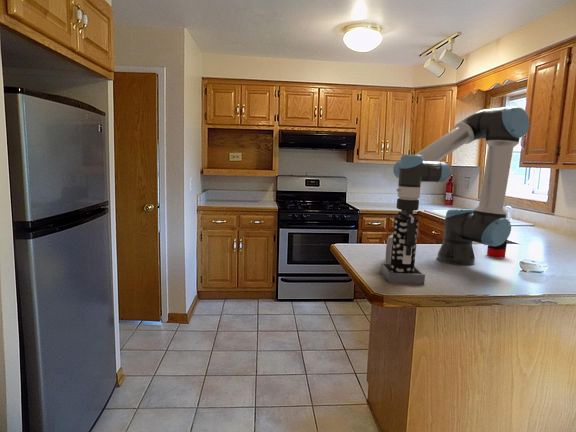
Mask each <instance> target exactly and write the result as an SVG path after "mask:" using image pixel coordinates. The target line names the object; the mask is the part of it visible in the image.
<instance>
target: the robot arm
mask: <svg viewBox="0 0 576 432" xmlns="http://www.w3.org/2000/svg"><path fill="white" fill-rule="evenodd" d="M454 125H455V126H454V127H453V129H451V130H450V131H449V132H447V133H445V134H444V135H442V136H441V137H439V138H438V139H436V140H435V141H433V142H432V143H430V144H428V145H427V146H426V147H424V148H422V149H421V150H419V151H418V152H417V153H415V154H403V155H401V156H400V160H398V161H396V162H395V164H394V165H393V175H394V176H395V177H396V178H397V179H398V184H397V189H396V192H397V197H398V198H397V199H396V209H398V210H400V211H398V212H397V216H399V217H402V219H408V220H407V221H408V222H407V231H405V244H403V246H404V250H403V262H402V263H403V264H411V255H412V246H415V223H416V218H417V216H414V211H415V212H416V211H418V210H419V205H420V200H419V199H420V197H421V186H422V185H421V184H422V183H436V184H437V183H444V182H446V181H447V180H448V178H449V176H450V171H451V168H450V166H449V164H448V163H447V162H445V161H441V160H442V159H445V157H447V156H448V155H450V154H451V153H453V152H454V151H456V150H457V149H459V148H460V147H462V146H463V145H468V144H470V143H472V142H474V141H476V140H483V139H484V142H485V144H487V145H486V146H488V147H487V154H486V160H485V166H484V167H485V168H484V173H483V179H482V186H481V191H480V198H479V203H478V204H479V205H478V206H477V207H475V208H473V209H472V208H462V209H461V208H457V209H455V208H452V209H451V208H450V209H448V210H447V211H446V214H445V217H444V231H443V240H442V244H441V245H440V248H439V250H438V253H437V260H439V261H440V262H443V263H447V264H452V265H457V266H458V265H460V266H469V265H470V266H471V265H474V264H475V262H476V256H475V253H474V249H473V242H474V243H478V244H482V245H484V246H488V245H490V246H499V245H501V244H503V243H504V241H506V240H507V241H508V239H509V237H510V234H511V231H512V224H511V221H510V220H509V219H507V212H506V210H505V209H504V206H505V205H504V204H505V198H506V192H507V188H508V187H507V186H508V182H509V176H510V169H511V163H512V160H513V159H512V158H513V152H514V148H515V147H516V146H517V145H519V143H520V138H523V137H525V136H526V134H527V133H528V131H529V129H530V118H529V115H528V113H527V111H526V110H525V109H524V108H522V107H520V106H516V105H515V106H503V107H496V108H487V109H482V110H479V111H476V112H475V113H472V114H471V115H469V116H467V117H466V118H463V120H460V121H459V122H458V123H456V124H454Z"/></svg>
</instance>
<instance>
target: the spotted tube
mask: <svg viewBox="0 0 576 432" xmlns="http://www.w3.org/2000/svg"><path fill="white" fill-rule="evenodd" d="M407 220H408V219H402V217H399V216H398V215H396V216H394V218H393V231H392V235H393V241H392V253H391V266H390V271H391V272H393V273H409V274H414V265H415V261H416V254H417V253H416V251H417V241H418V240H417V239H418V236H417V232H419V231H418V229H419V218H418V217H416V223H415V246H412V255H411V264H403V263H402V262H403V250H404V246H403V244H405V231H407V222H408V221H407Z"/></svg>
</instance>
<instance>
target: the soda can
mask: <svg viewBox="0 0 576 432" xmlns="http://www.w3.org/2000/svg"><path fill="white" fill-rule="evenodd" d="M507 244H508V239H507V240H506V241H504V243H503V244H501V245H499V246H490V245H487V251H486V255H487V256H489V257H491V258H496V259H497V258H498V259H503V258H505V257H506V252H507Z"/></svg>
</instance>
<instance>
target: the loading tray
mask: <svg viewBox="0 0 576 432" xmlns="http://www.w3.org/2000/svg"><path fill="white" fill-rule="evenodd" d="M390 266H391V264H385V263H380V271H379V272H380V274H381V275H382V276H383V278H384V279H385V280H386V282H387V284H404V285H405V284H406V285H407V284H409V285H425V280H426V279H425V278H426V274H425V273H424V272H422V270H421V269H419V268H418V267H417V266H416V265H415V264H414V274H409V273H393V272H391V271H390Z"/></svg>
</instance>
